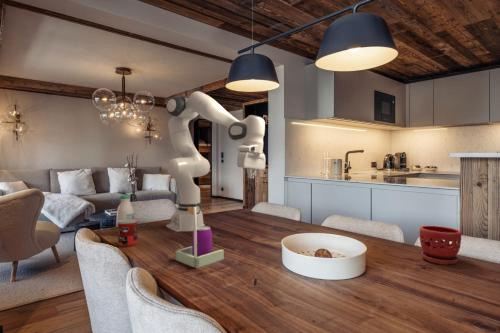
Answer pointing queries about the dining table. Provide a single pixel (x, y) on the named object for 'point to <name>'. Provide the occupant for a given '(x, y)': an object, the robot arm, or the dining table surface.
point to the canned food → (127, 232)
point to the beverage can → (202, 240)
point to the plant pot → (440, 244)
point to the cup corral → (186, 253)
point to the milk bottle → (125, 208)
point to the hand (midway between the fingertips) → (250, 178)
